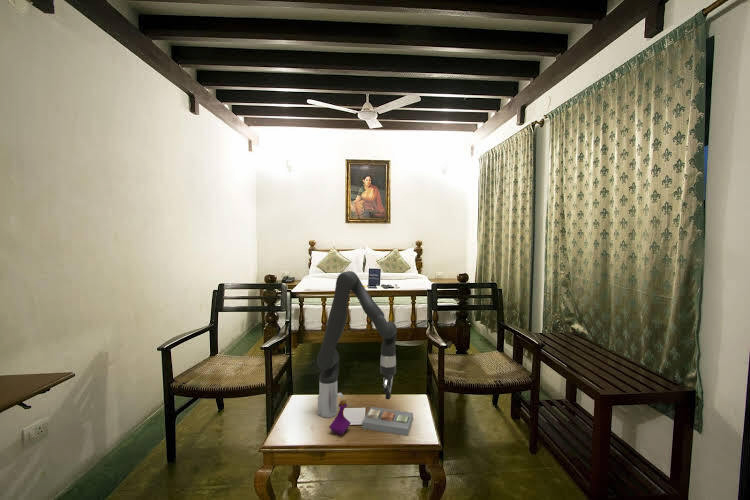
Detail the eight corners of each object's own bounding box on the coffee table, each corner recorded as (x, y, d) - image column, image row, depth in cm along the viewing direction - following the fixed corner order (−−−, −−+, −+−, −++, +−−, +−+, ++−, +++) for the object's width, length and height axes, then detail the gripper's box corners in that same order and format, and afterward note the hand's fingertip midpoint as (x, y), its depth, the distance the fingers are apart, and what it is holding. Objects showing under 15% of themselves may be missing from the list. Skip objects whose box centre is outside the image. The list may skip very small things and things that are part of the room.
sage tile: (396, 424, 158) (396, 420, 158) (398, 419, 163) (398, 415, 163) (406, 426, 156) (406, 421, 156) (408, 420, 161) (408, 416, 161)
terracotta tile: (381, 420, 160) (381, 416, 160) (384, 415, 164) (384, 411, 164) (392, 421, 158) (392, 417, 158) (394, 416, 163) (394, 412, 163)
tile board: (362, 428, 157) (362, 422, 157) (370, 412, 172) (370, 406, 172) (407, 435, 151) (407, 429, 151) (412, 418, 166) (412, 412, 166)
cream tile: (368, 418, 162) (368, 414, 162) (370, 413, 166) (370, 409, 166) (377, 419, 160) (377, 415, 160) (380, 414, 165) (380, 410, 165)
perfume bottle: (351, 429, 156) (350, 391, 156) (342, 438, 149) (342, 398, 149) (337, 425, 159) (337, 388, 159) (328, 434, 153) (328, 395, 152)
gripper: (384, 358, 168) (383, 391, 169) (377, 367, 155) (377, 404, 156) (398, 359, 166) (398, 393, 167) (392, 369, 153) (392, 406, 154)
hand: (388, 398), depth 161 cm, fingers closed
